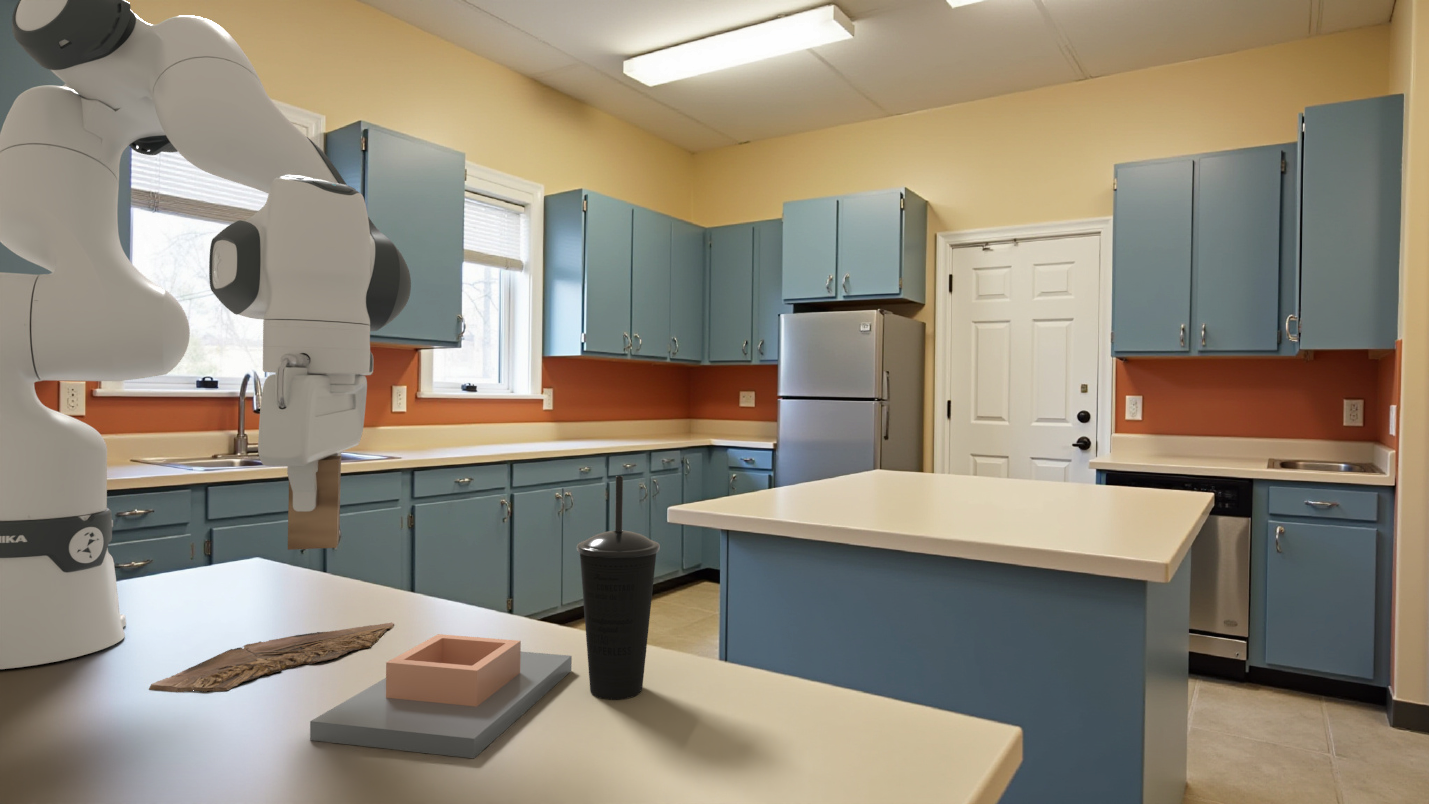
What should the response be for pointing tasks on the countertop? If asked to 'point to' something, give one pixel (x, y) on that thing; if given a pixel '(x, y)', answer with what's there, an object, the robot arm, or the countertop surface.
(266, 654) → the wooden fragment
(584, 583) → the drinking cup
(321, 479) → the brown wooden block
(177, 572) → the countertop surface
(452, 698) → the stand
